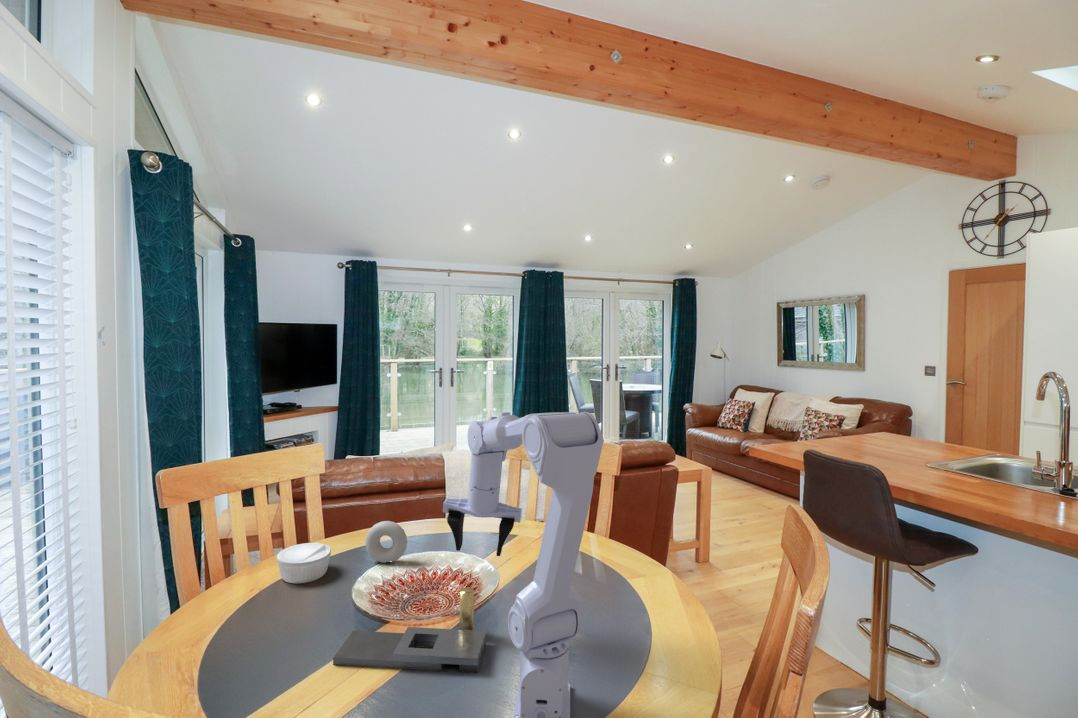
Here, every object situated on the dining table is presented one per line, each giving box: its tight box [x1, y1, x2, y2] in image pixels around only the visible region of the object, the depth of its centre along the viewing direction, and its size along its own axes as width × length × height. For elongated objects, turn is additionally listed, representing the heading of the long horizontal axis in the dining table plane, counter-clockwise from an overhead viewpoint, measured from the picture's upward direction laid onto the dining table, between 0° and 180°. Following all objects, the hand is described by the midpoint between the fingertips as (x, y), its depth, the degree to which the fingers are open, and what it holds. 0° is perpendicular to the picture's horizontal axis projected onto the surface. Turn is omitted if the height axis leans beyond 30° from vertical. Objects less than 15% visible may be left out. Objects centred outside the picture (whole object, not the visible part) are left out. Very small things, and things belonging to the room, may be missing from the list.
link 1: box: [332, 630, 444, 672], centre depth 90 cm, size 8×18×1 cm, turn 86°
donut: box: [365, 520, 408, 564], centre depth 126 cm, size 10×3×10 cm, turn 87°
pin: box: [458, 586, 475, 630], centre depth 96 cm, size 3×3×8 cm
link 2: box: [393, 626, 487, 674], centre depth 90 cm, size 8×14×2 cm, turn 86°
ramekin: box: [276, 542, 332, 584], centre depth 119 cm, size 11×11×5 cm
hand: (478, 550), depth 100 cm, fingers open, 7 cm apart
